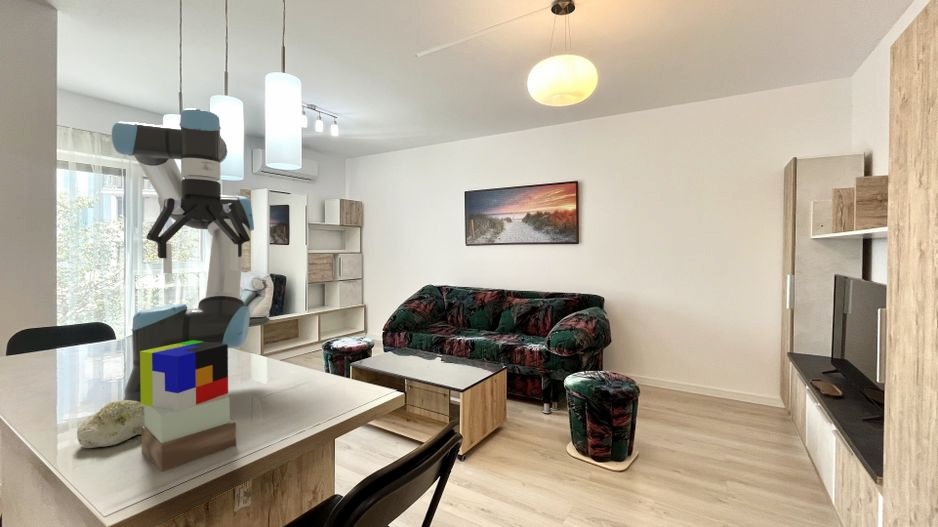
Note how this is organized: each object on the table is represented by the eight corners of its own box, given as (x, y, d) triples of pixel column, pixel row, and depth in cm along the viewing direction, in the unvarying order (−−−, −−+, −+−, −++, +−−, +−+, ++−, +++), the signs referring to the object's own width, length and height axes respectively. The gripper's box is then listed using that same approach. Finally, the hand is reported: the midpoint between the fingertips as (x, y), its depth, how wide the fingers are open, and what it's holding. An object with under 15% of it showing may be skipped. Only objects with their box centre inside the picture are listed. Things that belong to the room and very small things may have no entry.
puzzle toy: (177, 411, 71) (177, 356, 71) (140, 404, 75) (139, 351, 74) (228, 393, 81) (227, 344, 80) (193, 387, 84) (192, 340, 84)
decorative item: (130, 403, 90) (159, 389, 87) (136, 442, 88) (165, 429, 85) (60, 416, 78) (91, 401, 76) (65, 462, 76) (97, 448, 74)
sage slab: (144, 425, 77) (144, 400, 76) (209, 408, 85) (208, 385, 85) (161, 443, 70) (160, 415, 70) (229, 422, 78) (229, 397, 78)
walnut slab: (141, 452, 76) (141, 426, 76) (211, 429, 86) (211, 407, 86) (162, 473, 69) (161, 445, 69) (235, 446, 79) (235, 422, 79)
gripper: (137, 170, 79) (140, 275, 80) (264, 185, 99) (264, 270, 100) (127, 173, 84) (129, 273, 85) (249, 187, 104) (250, 268, 105)
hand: (202, 272), depth 92 cm, fingers open, 13 cm apart
